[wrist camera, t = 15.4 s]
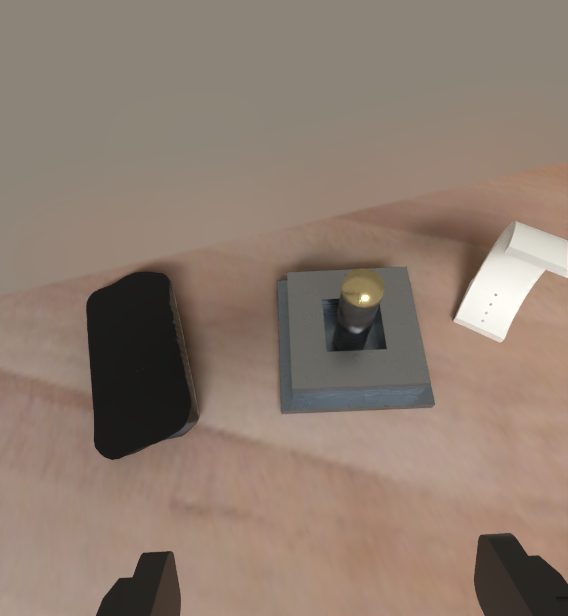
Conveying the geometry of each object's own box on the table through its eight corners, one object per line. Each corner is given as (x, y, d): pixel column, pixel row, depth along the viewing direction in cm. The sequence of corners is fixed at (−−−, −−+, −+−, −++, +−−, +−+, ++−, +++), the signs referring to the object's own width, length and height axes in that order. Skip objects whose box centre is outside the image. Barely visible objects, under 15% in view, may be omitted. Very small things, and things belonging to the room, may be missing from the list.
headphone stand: (452, 321, 40) (508, 245, 29) (473, 274, 42) (531, 189, 31) (500, 343, 38) (577, 272, 28) (519, 294, 41) (595, 211, 30)
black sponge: (207, 437, 36) (198, 428, 32) (109, 467, 35) (89, 461, 31) (176, 283, 43) (166, 263, 40) (95, 304, 42) (78, 286, 39)
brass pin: (334, 354, 37) (344, 305, 29) (331, 324, 39) (340, 269, 30) (368, 352, 37) (387, 303, 29) (363, 322, 39) (381, 267, 30)
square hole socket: (281, 413, 36) (280, 401, 32) (277, 285, 42) (275, 263, 39) (431, 407, 36) (446, 394, 32) (405, 280, 42) (415, 257, 38)
